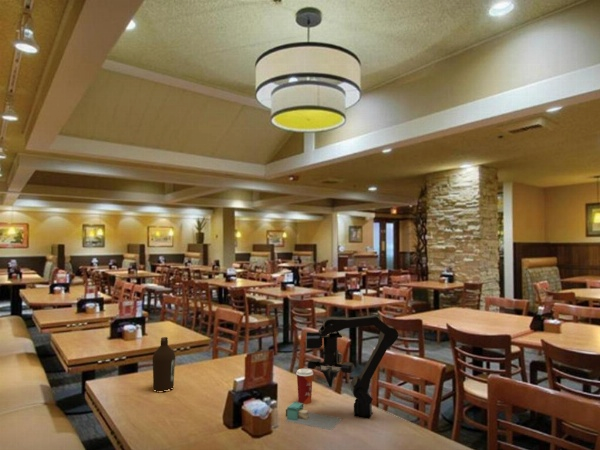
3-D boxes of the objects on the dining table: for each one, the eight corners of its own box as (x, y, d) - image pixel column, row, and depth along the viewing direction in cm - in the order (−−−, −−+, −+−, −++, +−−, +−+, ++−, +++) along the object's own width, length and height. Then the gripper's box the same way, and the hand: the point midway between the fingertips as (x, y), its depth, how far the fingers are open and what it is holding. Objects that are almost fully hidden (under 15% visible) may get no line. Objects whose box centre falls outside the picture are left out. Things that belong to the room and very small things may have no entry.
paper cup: (311, 406, 183) (311, 373, 184) (294, 404, 185) (294, 372, 186) (314, 399, 191) (314, 368, 192) (298, 398, 193) (298, 367, 193)
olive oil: (150, 394, 199) (151, 340, 200) (153, 386, 209) (154, 336, 211) (173, 392, 201) (174, 339, 203) (175, 385, 212) (176, 335, 213)
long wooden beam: (308, 417, 170) (308, 410, 171) (306, 419, 168) (306, 413, 168) (288, 413, 174) (288, 407, 174) (285, 416, 172) (285, 409, 172)
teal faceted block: (303, 414, 174) (303, 403, 174) (296, 420, 167) (296, 409, 168) (294, 412, 175) (294, 401, 175) (287, 418, 169) (287, 407, 169)
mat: (342, 419, 170) (342, 418, 170) (332, 430, 159) (332, 429, 159) (296, 411, 178) (296, 410, 178) (284, 422, 167) (284, 421, 167)
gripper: (357, 346, 177) (358, 383, 177) (316, 342, 185) (316, 378, 184) (350, 352, 167) (350, 392, 166) (306, 348, 175) (307, 386, 174)
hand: (330, 386), depth 173 cm, fingers closed
